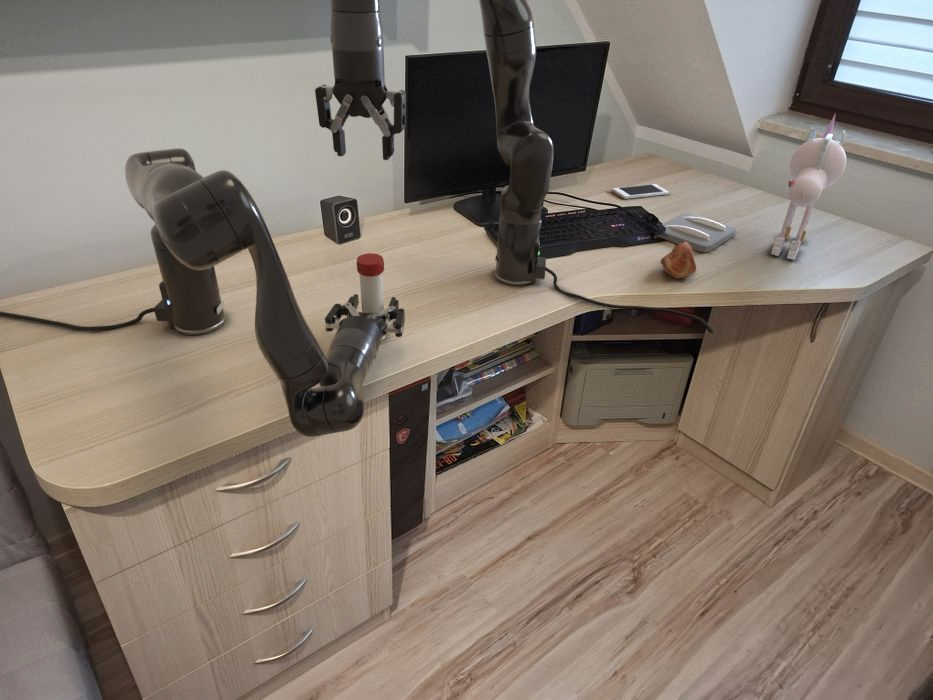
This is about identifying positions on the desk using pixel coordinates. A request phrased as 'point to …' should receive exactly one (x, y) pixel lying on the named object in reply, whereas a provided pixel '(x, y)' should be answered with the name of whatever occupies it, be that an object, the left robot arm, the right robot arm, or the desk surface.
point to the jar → (372, 294)
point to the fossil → (680, 261)
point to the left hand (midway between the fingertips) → (375, 300)
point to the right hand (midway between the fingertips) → (364, 156)
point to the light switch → (697, 232)
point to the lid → (370, 264)
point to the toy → (811, 180)
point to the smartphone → (640, 191)
